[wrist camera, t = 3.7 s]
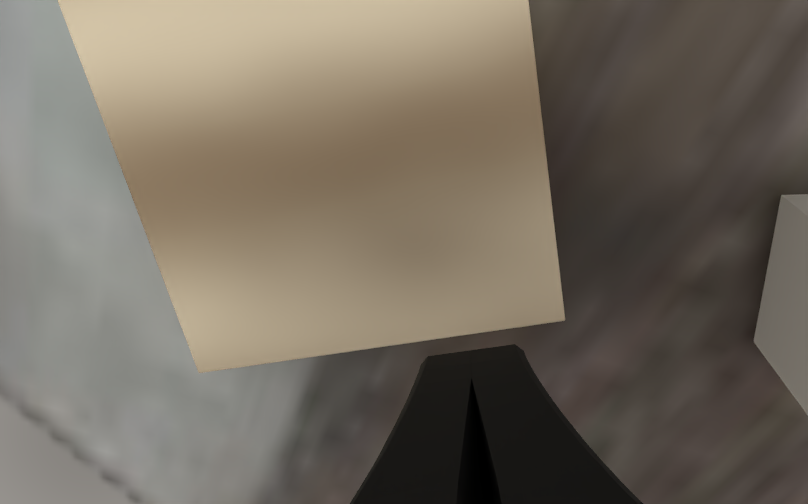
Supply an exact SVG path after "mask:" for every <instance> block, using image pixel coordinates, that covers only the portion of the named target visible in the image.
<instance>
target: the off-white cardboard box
mask: <svg viewBox="0 0 808 504" xmlns="http://www.w3.org/2000/svg"><path fill="white" fill-rule="evenodd" d="M753 342H754V343H755V344H756V346H757V347H758V348H759V350H760V351H761V353H762V354H763V355H764V357H765V358H766V359H767V361H768V362H769V363H770V365H771V366H772V367H773V369H774V370H775V372H776V373H777V374H778V376H779V377H780V378H781V380H782V381H783V382H784V384H785V385H786V386H787V388H788V389H789V391H790V392H791V393H792V395H793V396H794V397H795V399H796V400H797V401H798V403H799V404H800V405H801V407H802V408H803V410H804V411H805V412H806V414H807V415H808V194H800V195H781V199H780V204H779V209H778V215H777V220H776V225H775V230H774V236H773V241H772V246H771V252H770V257H769V262H768V267H767V273H766V278H765V283H764V289H763V294H762V299H761V304H760V310H759V315H758V320H757V326H756V331H755V336H754V341H753Z"/></svg>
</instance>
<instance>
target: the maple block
mask: <svg viewBox="0 0 808 504" xmlns="http://www.w3.org/2000/svg"><path fill="white" fill-rule="evenodd" d="M58 3H59V5H60V8H61V10H62V13H63V16H64V18H65V21H66V24H67V26H68V29H69V32H70V34H71V37H72V39H73V42H74V45H75V47H76V50H77V53H78V55H79V58H80V61H81V63H82V66H83V68H84V71H85V74H86V76H87V79H88V82H89V84H90V87H91V90H92V92H93V95H94V98H95V100H96V103H97V105H98V108H99V111H100V113H101V116H102V119H103V121H104V124H105V127H106V129H107V132H108V134H109V137H110V140H111V142H112V145H113V148H114V150H115V153H116V156H117V158H118V161H119V164H120V166H121V169H122V171H123V174H124V177H125V179H126V182H127V185H128V187H129V190H130V193H131V195H132V198H133V200H134V203H135V206H136V208H137V211H138V214H139V216H140V219H141V222H142V224H143V227H144V229H145V232H146V235H147V237H148V240H149V243H150V245H151V248H152V251H153V253H154V256H155V259H156V261H157V264H158V266H159V269H160V272H161V274H162V277H163V280H164V282H165V285H166V288H167V290H168V293H169V295H170V298H171V301H172V303H173V306H174V309H175V311H176V314H177V317H178V319H179V322H180V324H181V327H182V330H183V332H184V335H185V338H186V340H187V343H188V346H189V348H190V351H191V354H192V356H193V359H194V361H195V364H196V367H197V369H198V372H199V373H203V372H210V371H217V370H224V369H231V368H238V367H245V366H252V365H259V364H266V363H273V362H280V361H287V360H294V359H301V358H308V357H315V356H322V355H328V354H335V353H342V352H349V351H356V350H363V349H370V348H377V347H384V346H391V345H398V344H405V343H412V342H419V341H426V340H433V339H440V338H447V337H454V336H461V335H468V334H475V333H482V332H489V331H496V330H503V329H509V328H516V327H523V326H530V325H537V324H544V323H551V322H558V321H565V314H564V305H563V297H562V288H561V279H560V271H559V262H558V253H557V245H556V236H555V227H554V219H553V210H552V201H551V193H550V184H549V175H548V167H547V158H546V149H545V140H544V132H543V123H542V114H541V106H540V97H539V88H538V80H537V71H536V62H535V54H534V45H533V36H532V28H531V19H530V10H529V2H528V0H58Z"/></svg>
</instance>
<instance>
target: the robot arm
mask: <svg viewBox="0 0 808 504" xmlns="http://www.w3.org/2000/svg"><path fill="white" fill-rule="evenodd" d="M350 504H643V503H642V502H641V501H640V500H639V499H638V498H637V497H636V496H635V495H634V494H633V493H632V492H631V491H630V490H629V489H628V488H627V487H626V486H625V485H624V484H623V483H622V482H621V481H620V480H619V479H618V478H617V477H616V476H615V475H614V473H613V472H612V471H611V470H610V469H609V468H608V467H607V466H606V465H605V464H604V463H603V462H602V461H601V459H600V458H599V457H598V456H597V455H596V454H595V453H594V451H593V450H592V449H591V448H590V447H589V446H588V444H587V443H586V442H585V441H584V440H583V439H582V437H581V436H580V435H579V434H578V432H577V431H576V430H575V429H574V427H573V426H572V425H571V424H570V422H569V421H568V420H567V419H566V417H565V416H564V415H563V414H562V412H561V411H560V410H559V408H558V407H557V406H556V404H555V403H554V402H553V400H552V399H551V397H550V396H549V394H548V393H547V391H546V390H545V388H544V387H543V386H542V384H541V383H540V381H539V379H538V378H537V376H536V375H535V373H534V371H533V369H532V368H531V366H530V364H529V362H528V360H527V358H526V356H525V353H524V351H523V350H522V349H520V348H519V347H518V346H516V345H515V344H514V345H507V346H500V347H493V348H486V349H478V350H471V351H464V352H457V353H449V354H442V355H435V356H428V357H427V358H426V359H425V361H424V362H423V363H422V364H421V367H420V370H419V373H418V375H417V378H416V380H415V383H414V385H413V388H412V390H411V392H410V394H409V397H408V399H407V401H406V403H405V405H404V408H403V410H402V412H401V414H400V416H399V418H398V420H397V422H396V424H395V426H394V428H393V430H392V432H391V434H390V435H389V437H388V439H387V441H386V443H385V445H384V447H383V449H382V451H381V453H380V455H379V456H378V458H377V460H376V462H375V463H374V465H373V467H372V469H371V470H370V472H369V473H368V475H367V477H366V478H365V480H364V482H363V483H362V485H361V487H360V488H359V490H358V491H357V493H356V495H355V496H354V498H353V500H352V501H351V503H350Z"/></svg>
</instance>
